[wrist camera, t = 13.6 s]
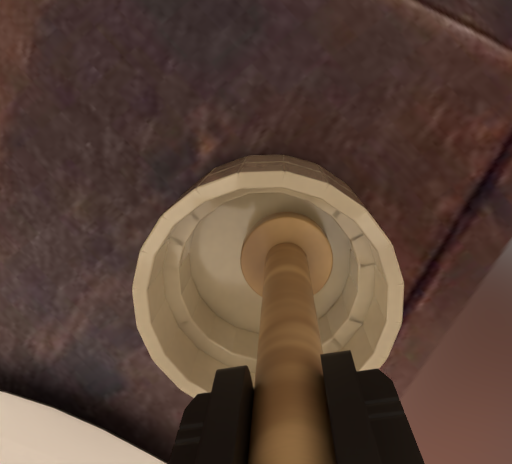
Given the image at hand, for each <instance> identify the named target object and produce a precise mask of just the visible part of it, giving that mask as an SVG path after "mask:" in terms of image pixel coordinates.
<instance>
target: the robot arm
mask: <svg viewBox="0 0 512 464" xmlns="http://www.w3.org/2000/svg"><path fill="white" fill-rule="evenodd" d="M320 357H321V364H322V370H323V377H324V383H325V390H326V397H327V403H328V410H329V416H330V423H331V430H332V436H333V443H334V449H335V456H336V463H337V464H424V461H423V458H422V456H421V453H420V451H419V448H418V446H417V443H416V441H415V438H414V435H413V433H412V430H411V428H410V425H409V423H408V420H407V417H406V415H405V413H404V410H403V407H402V405H401V402H400V401H399V397H398V394H397V392H396V389H395V387H394V384H393V382H392V380H391V379H389V378H388V377H387V376H386V375H385V374H384V373H382V372H381V371H380V370H379V369H378V368H377V369H370V370H363V371H356V368H355V364H354V361H353V357H352V353H351V350H346V351H340V352H333V353H326V354H320ZM253 397H254V387H253V383H252V378H251V374H250V371H249V368H248V366H247V365H244V366H237V367H230V368H223V369H217V370H216V373H215V377H214V382H213V386H212V390H211V392H207V393H200V394H197V395H196V396H195V398H194V399H193V400H192V401H191V402H190V404H189V405H188V406H187V407H186V409H185V410H184V413H183V417H182V420H181V423H180V426H179V427H180V430H178V433H177V436H176V440H175V445H174V446H173V449H172V453H171V456H170V459H169V463H168V464H248V453H249V442H250V431H251V419H252V408H253Z"/></svg>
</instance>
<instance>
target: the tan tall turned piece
mask: <svg viewBox="0 0 512 464" xmlns="http://www.w3.org/2000/svg"><path fill="white" fill-rule="evenodd" d="M240 265H241V270H242V274H243V276H244V278H245V280H246V282H247V283H248V285H249V286H250V287H251V289H252V290H253V291H255V292H256V293H257V294H258V295H260V296H261V297H262V306H261V317H260V329H259V340H258V351H257V363H256V374H255V385H254V397H253V408H252V419H251V431H250V442H249V453H248V464H337V463H336V456H335V449H334V443H333V436H332V430H331V423H330V416H329V410H328V403H327V397H326V390H325V383H324V377H323V370H322V364H321V357H320V354H323V351H322V345H321V339H320V333H319V327H318V321H317V315H316V309H315V302H314V295H315V294H316V293H318V292H319V291H320V290H321V289H322V288H323V287H324V285H325V284H326V282H327V281H328V279H329V277H330V274H331V271H332V267H333V253H332V249H331V245H330V242H329V240H328V237H327V235H326V233H325V232H324V230H323V229H322V228H321V227H320V226H319V225H318V224H317V223H316V222H315V221H314V220H312V219H311V218H309V217H307V216H305V215H302V214H299V213H295V212H278V213H274V214H271V215H268V216H266V217H264V218H262V219H261V220H259V221H258V222H257V223H256V224H254V225H253V226H252V228H251V229H250V230H249V232H248V233H247V235H246V237H245V239H244V242H243V246H242V250H241V256H240Z"/></svg>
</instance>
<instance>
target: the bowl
mask: <svg viewBox="0 0 512 464" xmlns="http://www.w3.org/2000/svg"><path fill="white" fill-rule="evenodd" d="M278 212H295V213H299V214H302V215H305V216H307V217H309V218H311V219H312V220H314V221H315V222H316V223H317V224H318V225H319V226H320V227H321V228H322V229H323V230H324V232H325V233H326V235H327V237H328V240H329V242H330V245H331V249H332V253H333V267H332V271H331V274H330V277H329V279H328V281H327V282H326V284H325V285H324V287H323V288H322V289H321V290H320V291H319V292H318V293H316V294H315V295H314V302H315V309H316V315H317V321H318V327H319V333H320V339H321V345H322V351H323V354H326V353H333V352H340V351H346V350H351V353H352V357H353V361H354V364H355V368H356V371H363V370H370V369H377V368H378V369H379V368H380V367H381V366H382V365H383V363H384V362H385V361H386V359H387V358H388V356H389V353H390V351H391V348H392V346H393V344H394V341H395V339H396V337H397V334H398V332H399V329H400V327H401V323H402V317H403V298H404V280H403V277H402V274H401V270H400V267H399V264H398V261H397V257H396V254H395V251H394V247H393V245H392V244H391V241H390V240H389V239H388V237H387V236H386V235H385V233H384V232H383V230H382V229H381V228H380V226H379V225H378V224H377V222H376V221H375V220H374V218H373V217H372V216H371V214H370V213H369V212H368V210H367V209H366V208H365V206H364V205H363V204H362V203H361V201H360V200H359V199H358V197H357V196H356V195H355V194H354V192H353V191H352V190H351V189H350V187H349V186H348V185H347V184H346V183H345V182H343V181H342V180H340V179H339V178H337V177H336V176H334V175H333V174H331V173H330V172H329V171H327V170H326V169H324V168H323V167H321V166H320V165H317V164H315V163H311V162H308V161H304V160H301V159H298V158H294V157H291V156H287V155H284V156H283V155H254V156H248V157H247V156H246V157H243V158H240V159H237V160H235V161H232V162H229V163H227V164H224V165H221V166H218V167H216V168H214V169H212V170H211V171H210V172H209V173H207V174H206V175H205V176H204V177H203V178H201V179H200V180H199V181H198V182H196V183H195V184H194V185H193V186H191V187H190V188H189V189H188V190H187V191H186V192H185V193H184V194H183V195H182V196H181V197H180V198H179V199H178V200H177V201H175V202H174V203H173V204H172V205H171V206H170V207H169V208H168V209H167V210H166V211H165V212H164V213H163V215H161V217H160V218H159V220H158V222H157V223H156V225H155V226H154V228H153V230H152V231H151V233H150V234H149V236H148V238H147V239H146V241H145V242H144V244H143V246H142V247H141V250H140V252H139V257H138V262H137V266H136V271H135V275H134V280H133V285H132V294H133V301H134V309H135V317H136V325H137V329H138V331H139V333H140V335H141V337H142V339H143V341H144V343H145V345H146V347H147V349H148V352H149V354H150V356H151V358H152V360H153V361H154V362H155V363H156V365H157V366H158V367H159V368H160V369H161V370H162V371H163V372H164V373H165V374H166V375H167V376H168V377H169V378H170V379H171V381H172V382H173V383H174V384H175V385H176V386H177V387H178V388H179V389H180V390H181V391H183V392H185V393H187V394H188V395H190V396H192V397H193V398H195V396H196V395H197V394H200V393H207V392H211V390H212V386H213V382H214V377H215V373H216V370H217V369H223V368H230V367H237V366H244V365H247V366H248V368H249V371H250V374H251V378H252V383H253V387H254V385H255V374H256V363H257V351H258V340H259V329H260V317H261V306H262V297H261V296H260V295H258V294H257V293H256V292H255V291H253V290H252V289H251V287H250V286H249V285H248V283H247V282H246V280H245V278H244V276H243V274H242V270H241V265H240V256H241V250H242V246H243V242H244V239H245V237H246V235H247V233H248V232H249V230H250V229H251V228H252V226H253V225H254V224H256V223H257V222H258V221H259V220H261V219H262V218H264V217H266V216H268V215H271V214H274V213H278Z"/></svg>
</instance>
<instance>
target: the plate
mask: <svg viewBox="0 0 512 464" xmlns="http://www.w3.org/2000/svg"><path fill="white" fill-rule="evenodd" d="M0 464H168V462H166V461H164V460H163V459H161V458H159V457H157V456H156V455H154V454H152V453H150V452H148V451H146V450H144V449H142V448H140V447H139V446H137V445H135V444H133V443H131V442H129V441H127V440H125V439H123V438H122V437H120V436H118V435H116V434H114V433H112V432H110V431H108V430H106V429H105V428H102V427H100V426H98V425H96V424H93V423H91V422H89V421H86V420H84V419H82V418H80V417H77V416H75V415H73V414H71V413H68V412H66V411H64V410H61V409H59V408H57V407H55V406H52V405H49V404H45V403H42V402H39V401H36V400H33V399H30V398H27V397H24V396H20V395H17V394H14V393H11V392H8V391H3V390H0Z"/></svg>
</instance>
